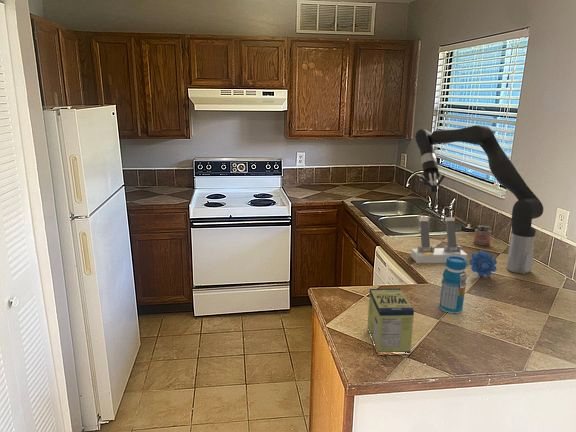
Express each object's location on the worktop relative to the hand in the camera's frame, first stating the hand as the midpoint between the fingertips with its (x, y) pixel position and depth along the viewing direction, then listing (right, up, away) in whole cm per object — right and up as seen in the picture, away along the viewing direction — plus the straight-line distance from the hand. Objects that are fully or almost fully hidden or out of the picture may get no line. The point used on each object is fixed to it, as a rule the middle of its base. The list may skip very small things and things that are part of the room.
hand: (434, 193), depth 217 cm
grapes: (+11, -39, -29) cm, 50 cm away
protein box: (-42, -53, -78) cm, 103 cm away
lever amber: (-8, -28, -11) cm, 31 cm away
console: (-1, -33, -9) cm, 34 cm away
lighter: (+29, -27, +12) cm, 41 cm away
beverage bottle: (-13, -47, -57) cm, 75 cm away
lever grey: (+5, -28, -10) cm, 30 cm away
